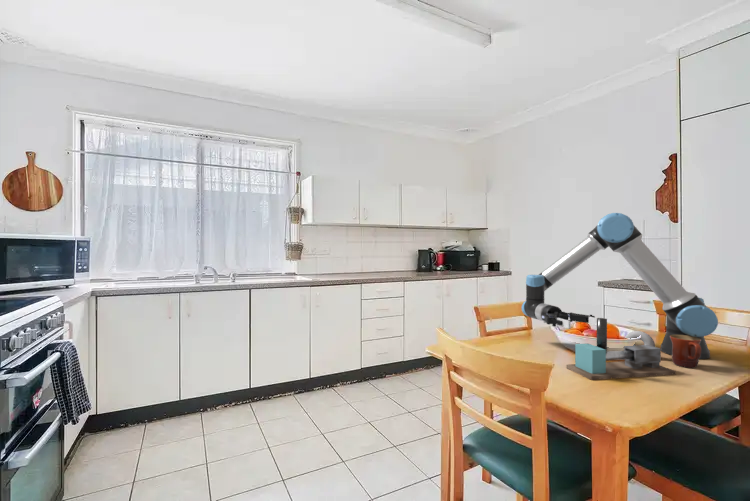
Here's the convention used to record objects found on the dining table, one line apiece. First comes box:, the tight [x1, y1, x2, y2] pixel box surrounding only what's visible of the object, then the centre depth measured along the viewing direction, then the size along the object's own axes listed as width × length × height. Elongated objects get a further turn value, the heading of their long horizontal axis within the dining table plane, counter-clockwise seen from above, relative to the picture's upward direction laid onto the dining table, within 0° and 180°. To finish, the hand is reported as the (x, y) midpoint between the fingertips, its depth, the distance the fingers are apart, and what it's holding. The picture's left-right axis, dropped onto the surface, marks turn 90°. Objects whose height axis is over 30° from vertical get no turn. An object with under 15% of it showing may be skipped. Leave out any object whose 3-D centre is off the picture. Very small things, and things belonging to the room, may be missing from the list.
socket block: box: [574, 343, 607, 374], centre depth 125 cm, size 5×8×8 cm, turn 9°
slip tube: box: [596, 317, 634, 362], centre depth 126 cm, size 18×3×14 cm, turn 99°
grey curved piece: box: [624, 330, 656, 347], centre depth 144 cm, size 10×4×10 cm, turn 40°
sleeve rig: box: [565, 344, 677, 381], centre depth 127 cm, size 32×12×8 cm, turn 99°
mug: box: [670, 335, 701, 369], centre depth 131 cm, size 12×9×10 cm
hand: (586, 324), depth 133 cm, fingers open, 13 cm apart
